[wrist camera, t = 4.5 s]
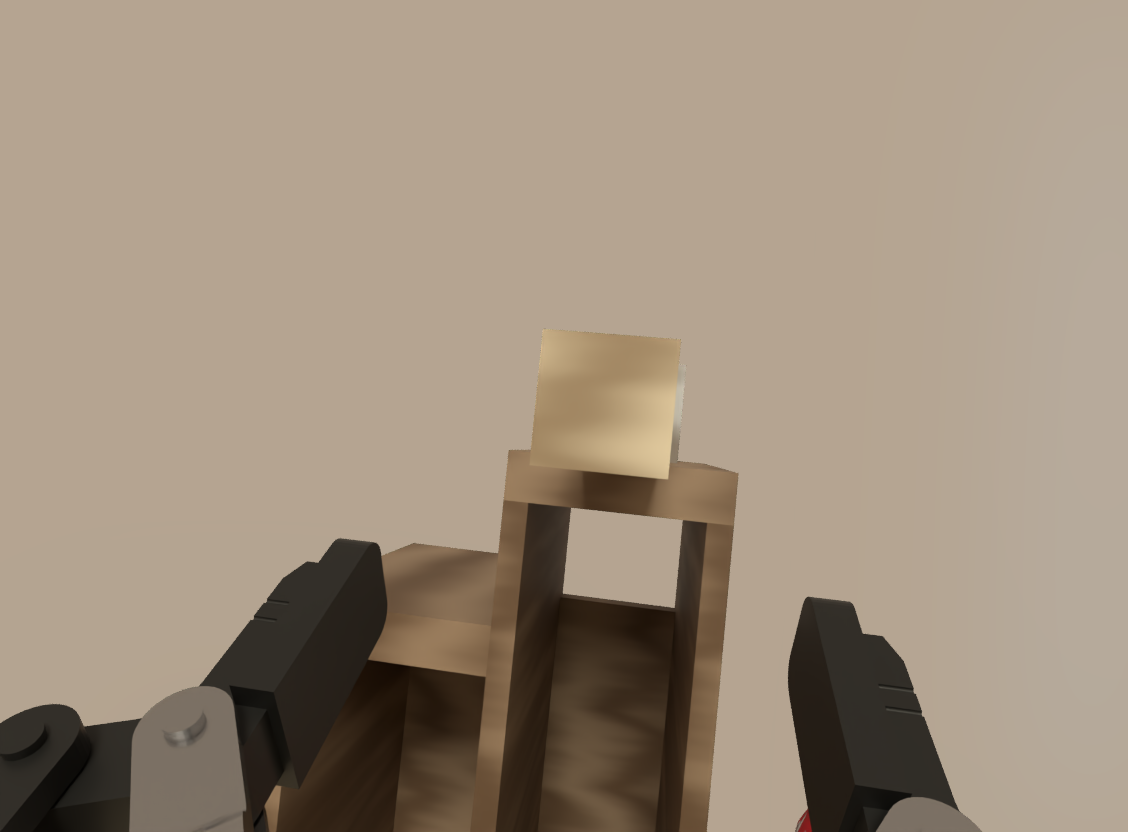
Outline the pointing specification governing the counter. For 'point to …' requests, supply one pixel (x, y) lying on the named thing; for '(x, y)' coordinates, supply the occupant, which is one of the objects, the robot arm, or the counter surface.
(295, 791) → the stepped shelf
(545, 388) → the meat mallet
